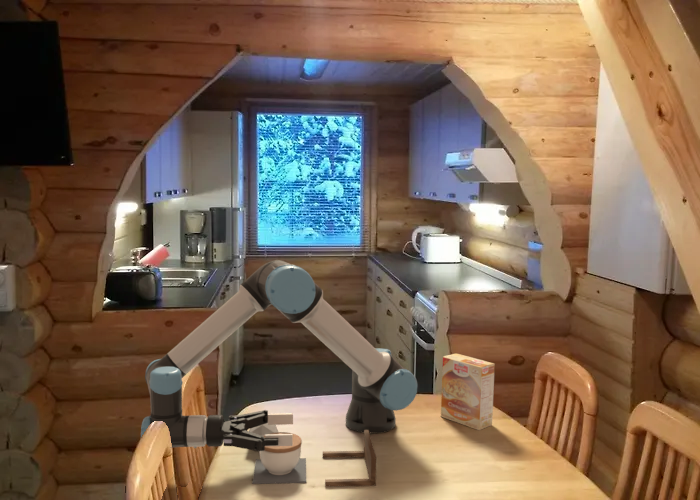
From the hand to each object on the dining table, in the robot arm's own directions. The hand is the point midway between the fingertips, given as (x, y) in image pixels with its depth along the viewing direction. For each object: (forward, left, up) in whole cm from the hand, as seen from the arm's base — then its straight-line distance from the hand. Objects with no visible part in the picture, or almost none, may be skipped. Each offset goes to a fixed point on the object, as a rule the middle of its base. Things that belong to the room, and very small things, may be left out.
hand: (292, 428), depth 159 cm
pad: (+3, 0, -11) cm, 11 cm away
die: (+7, -15, -11) cm, 20 cm away
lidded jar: (+3, 0, -11) cm, 11 cm away
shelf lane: (-14, +1, -11) cm, 18 cm away
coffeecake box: (-56, -28, -11) cm, 63 cm away
